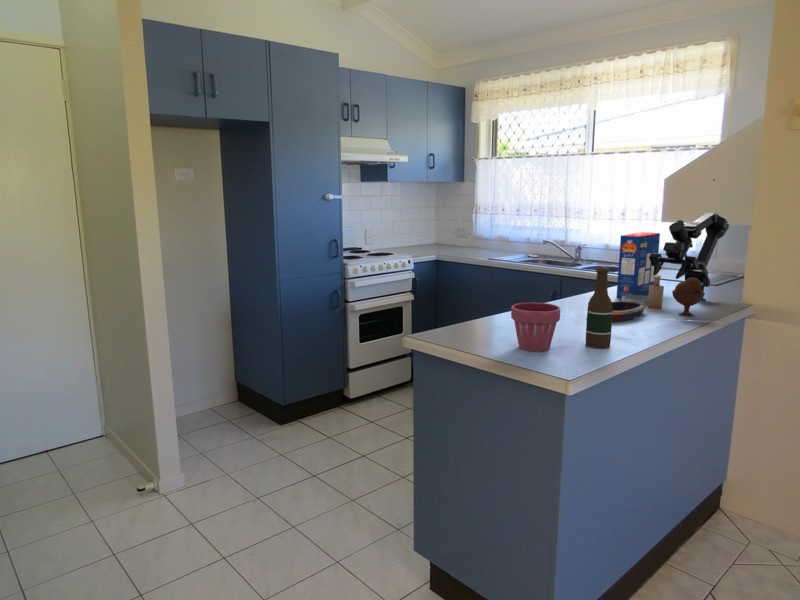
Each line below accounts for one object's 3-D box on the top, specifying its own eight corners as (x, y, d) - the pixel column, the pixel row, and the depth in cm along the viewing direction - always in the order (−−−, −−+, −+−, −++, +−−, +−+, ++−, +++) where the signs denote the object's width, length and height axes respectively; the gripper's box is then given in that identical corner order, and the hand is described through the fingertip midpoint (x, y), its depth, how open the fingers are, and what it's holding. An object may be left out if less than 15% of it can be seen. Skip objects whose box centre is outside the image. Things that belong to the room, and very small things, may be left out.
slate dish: (620, 300, 251) (620, 294, 251) (650, 302, 248) (650, 295, 248) (624, 306, 240) (624, 299, 239) (655, 307, 237) (655, 300, 236)
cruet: (646, 306, 236) (649, 274, 234) (660, 306, 235) (663, 274, 233) (648, 308, 231) (651, 276, 229) (663, 309, 230) (666, 276, 228)
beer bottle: (580, 342, 181) (584, 266, 177) (604, 342, 182) (609, 266, 177) (590, 349, 173) (595, 270, 169) (615, 348, 174) (621, 269, 170)
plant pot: (505, 351, 172) (506, 308, 169) (515, 340, 184) (517, 300, 182) (554, 356, 166) (556, 312, 164) (561, 344, 179) (563, 304, 176)
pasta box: (637, 290, 277) (642, 232, 272) (655, 292, 272) (660, 233, 267) (616, 298, 256) (620, 235, 251) (634, 300, 251) (639, 236, 246)
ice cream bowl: (694, 313, 225) (698, 275, 222) (706, 319, 214) (710, 279, 211) (666, 313, 226) (669, 275, 223) (677, 319, 215) (680, 279, 212)
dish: (656, 315, 223) (657, 302, 222) (612, 326, 204) (613, 312, 203) (619, 309, 234) (620, 297, 234) (574, 319, 216) (575, 306, 215)
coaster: (643, 307, 237) (643, 305, 237) (662, 307, 236) (662, 306, 236) (646, 310, 231) (647, 309, 231) (665, 311, 229) (665, 310, 229)
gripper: (653, 233, 242) (637, 261, 238) (698, 236, 228) (682, 266, 223) (660, 251, 249) (645, 279, 244) (705, 255, 234) (690, 284, 230)
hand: (664, 277), depth 235 cm, fingers open, 9 cm apart
